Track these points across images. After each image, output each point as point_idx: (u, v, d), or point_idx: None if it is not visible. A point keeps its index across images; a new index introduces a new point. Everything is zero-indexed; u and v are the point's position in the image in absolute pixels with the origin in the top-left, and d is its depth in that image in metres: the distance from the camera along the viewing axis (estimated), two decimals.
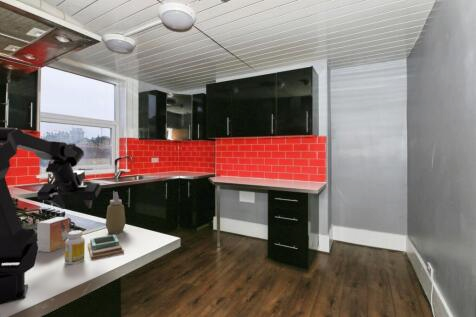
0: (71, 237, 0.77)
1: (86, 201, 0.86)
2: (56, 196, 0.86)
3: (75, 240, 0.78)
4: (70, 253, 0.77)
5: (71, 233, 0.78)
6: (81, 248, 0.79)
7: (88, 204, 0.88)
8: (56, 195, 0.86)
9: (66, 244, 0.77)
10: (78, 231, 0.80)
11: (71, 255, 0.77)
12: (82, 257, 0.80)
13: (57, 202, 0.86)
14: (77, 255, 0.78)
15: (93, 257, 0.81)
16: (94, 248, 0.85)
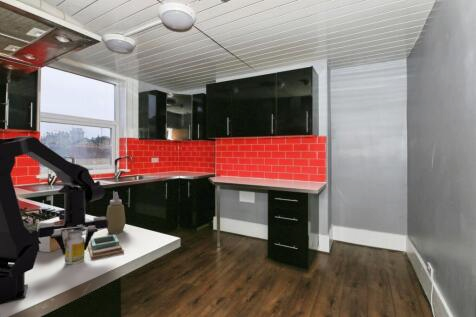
0: (71, 237, 0.77)
1: (89, 234, 0.80)
2: (62, 235, 0.77)
3: (75, 240, 0.78)
4: (70, 252, 0.77)
5: (71, 233, 0.78)
6: (81, 248, 0.79)
7: (88, 241, 0.80)
8: (62, 234, 0.77)
9: (66, 244, 0.77)
10: (78, 231, 0.80)
11: (71, 255, 0.77)
12: (82, 257, 0.80)
13: (63, 242, 0.77)
14: (77, 255, 0.78)
15: (93, 257, 0.81)
16: (94, 248, 0.85)
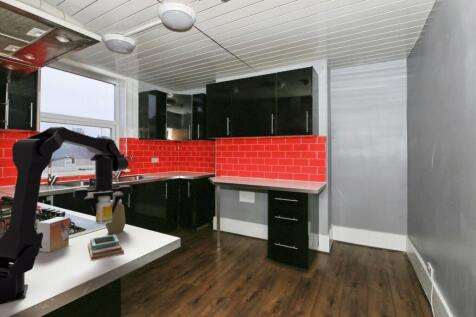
0: (101, 200, 0.88)
1: (117, 199, 0.90)
2: None
3: (105, 203, 0.89)
4: (101, 214, 0.88)
5: (101, 197, 0.89)
6: (110, 211, 0.90)
7: (116, 204, 0.91)
8: None
9: (97, 206, 0.88)
10: (106, 196, 0.91)
11: (102, 216, 0.88)
12: (110, 218, 0.90)
13: None
14: (106, 216, 0.89)
15: (93, 257, 0.81)
16: (94, 248, 0.85)
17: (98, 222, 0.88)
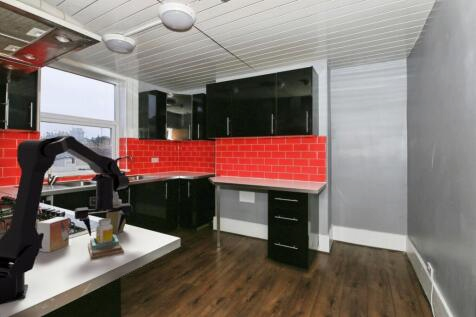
0: (101, 223, 0.89)
1: (122, 217, 0.92)
2: None
3: (105, 227, 0.89)
4: (101, 237, 0.88)
5: (101, 220, 0.90)
6: (110, 234, 0.90)
7: (121, 223, 0.92)
8: (88, 218, 0.87)
9: (97, 230, 0.88)
10: (107, 219, 0.92)
11: (102, 239, 0.88)
12: (111, 241, 0.91)
13: None
14: (106, 240, 0.89)
15: (93, 257, 0.81)
16: (94, 248, 0.85)
17: None
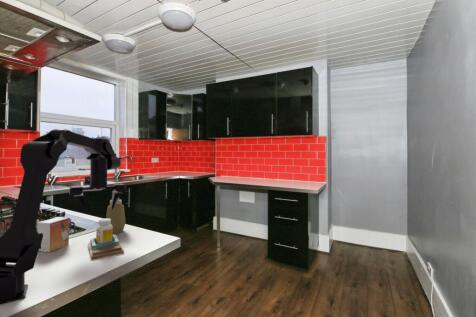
0: (101, 223, 0.89)
1: (116, 196, 0.95)
2: None
3: (105, 227, 0.89)
4: (101, 237, 0.88)
5: (101, 220, 0.90)
6: (110, 234, 0.90)
7: (115, 201, 0.95)
8: None
9: (97, 230, 0.88)
10: (107, 219, 0.92)
11: (102, 239, 0.88)
12: (111, 241, 0.91)
13: (84, 202, 0.90)
14: (106, 240, 0.89)
15: (93, 257, 0.81)
16: (94, 248, 0.85)
17: None
